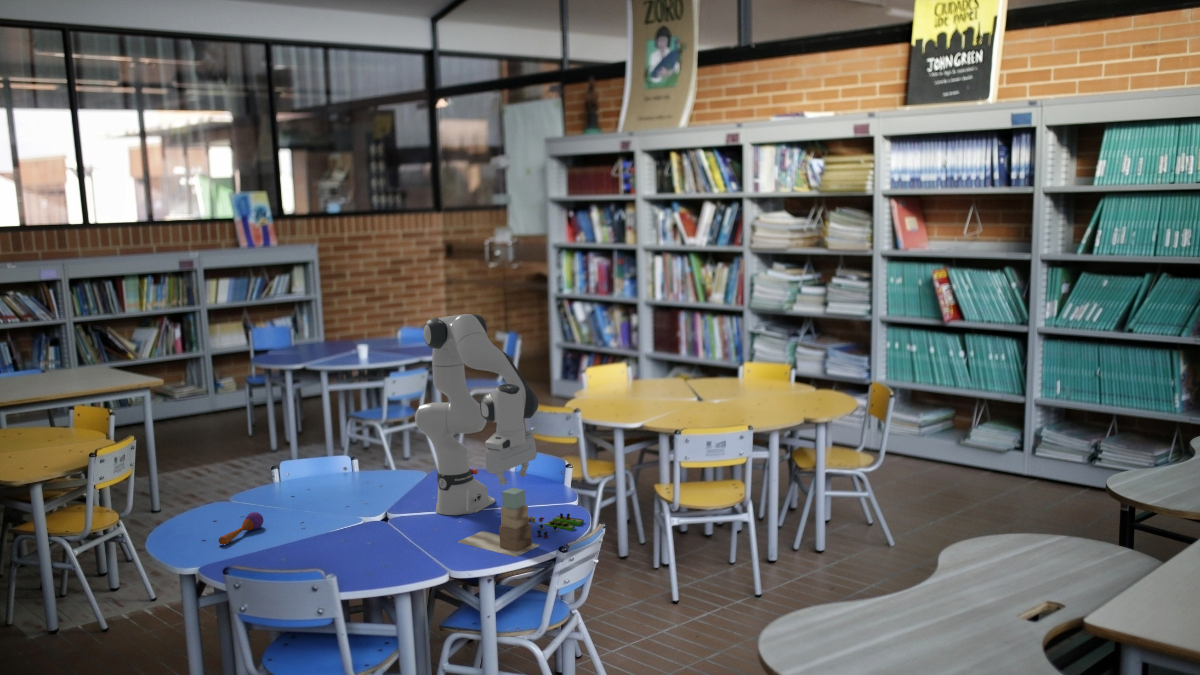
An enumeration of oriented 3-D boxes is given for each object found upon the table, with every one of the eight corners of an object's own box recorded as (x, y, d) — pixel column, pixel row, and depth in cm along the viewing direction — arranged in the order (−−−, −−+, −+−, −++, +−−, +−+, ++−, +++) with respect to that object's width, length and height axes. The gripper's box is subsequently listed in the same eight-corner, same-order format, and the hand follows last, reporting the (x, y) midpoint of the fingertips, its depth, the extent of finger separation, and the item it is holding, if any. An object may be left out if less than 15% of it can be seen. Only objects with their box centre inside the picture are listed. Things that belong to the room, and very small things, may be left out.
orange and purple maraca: (212, 534, 320) (249, 510, 339) (218, 550, 321) (254, 526, 340) (227, 532, 318) (264, 508, 337) (233, 549, 319) (268, 524, 338)
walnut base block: (514, 540, 312) (513, 519, 311) (531, 544, 307) (530, 523, 306) (500, 547, 306) (499, 526, 305) (517, 551, 302) (516, 530, 301)
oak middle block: (514, 520, 310) (513, 502, 309) (528, 523, 306) (527, 505, 306) (501, 525, 305) (500, 507, 304) (515, 529, 302) (515, 510, 301)
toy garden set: (550, 546, 311) (550, 532, 311) (499, 538, 320) (499, 525, 319) (584, 524, 332) (583, 511, 331) (535, 517, 340) (534, 504, 340)
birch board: (482, 535, 322) (482, 530, 322) (541, 549, 307) (540, 544, 307) (456, 546, 313) (456, 541, 312) (515, 561, 298) (515, 556, 298)
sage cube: (513, 502, 308) (512, 487, 308) (525, 505, 305) (524, 490, 305) (502, 507, 304) (502, 491, 304) (514, 509, 301) (514, 494, 301)
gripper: (525, 428, 312) (526, 470, 314) (481, 443, 295) (483, 487, 298) (540, 430, 308) (542, 473, 310) (496, 446, 292) (499, 490, 294)
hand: (513, 480), depth 304 cm, fingers open, 8 cm apart
